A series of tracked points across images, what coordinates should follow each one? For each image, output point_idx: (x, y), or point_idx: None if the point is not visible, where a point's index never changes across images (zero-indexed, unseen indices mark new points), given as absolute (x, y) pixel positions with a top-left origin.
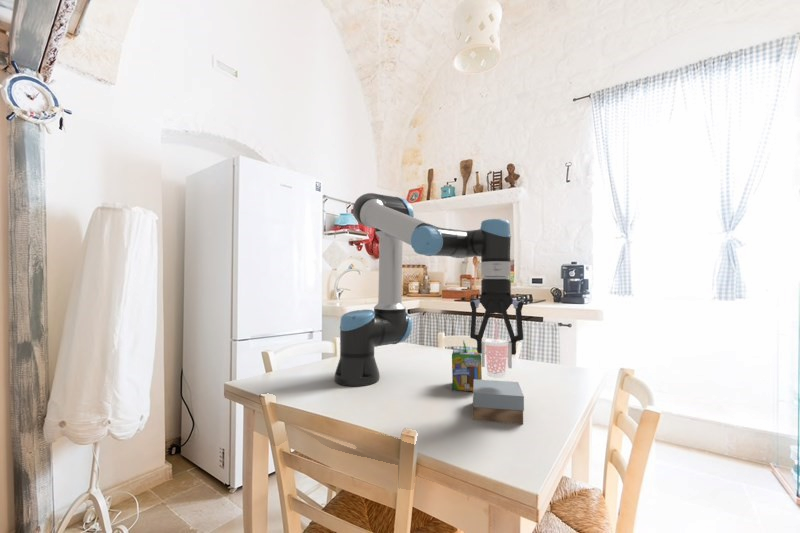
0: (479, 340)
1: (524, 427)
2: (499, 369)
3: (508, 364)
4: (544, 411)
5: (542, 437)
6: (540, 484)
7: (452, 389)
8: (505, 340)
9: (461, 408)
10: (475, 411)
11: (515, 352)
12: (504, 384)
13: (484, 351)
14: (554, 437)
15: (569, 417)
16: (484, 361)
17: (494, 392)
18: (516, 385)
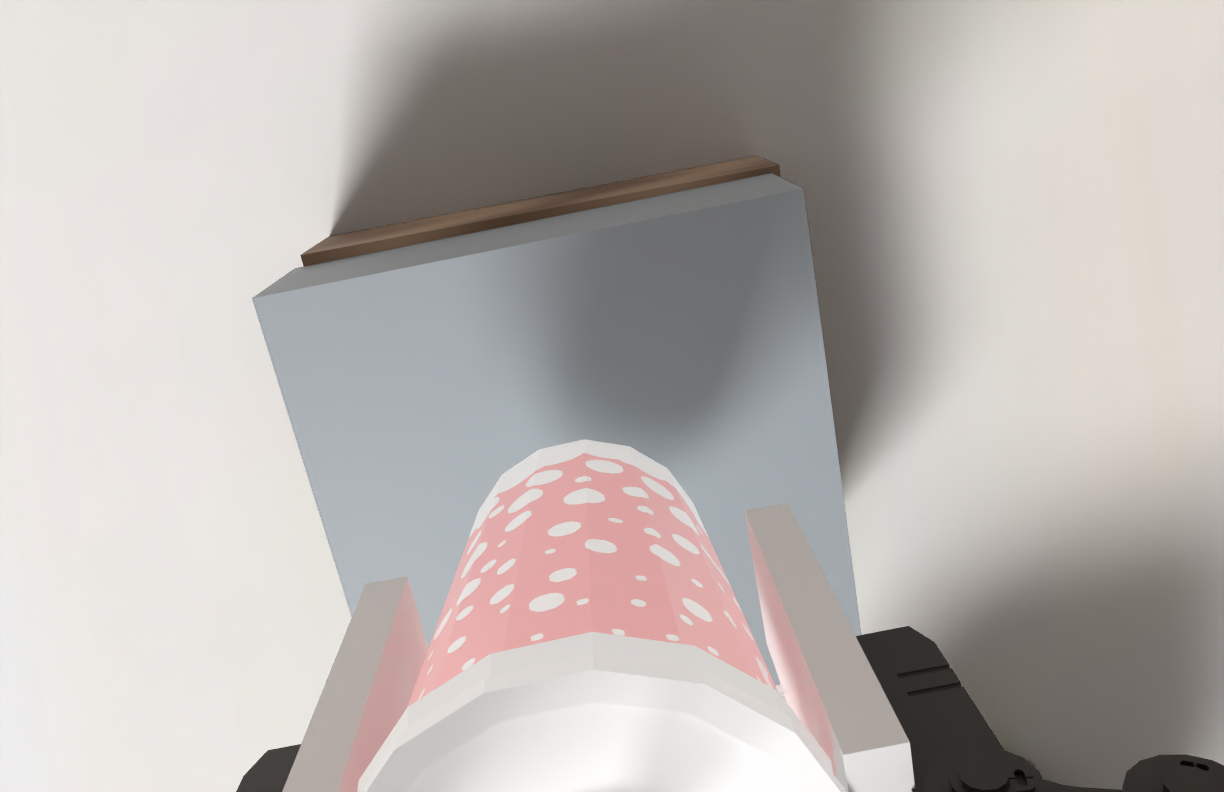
0: (969, 760)
1: (308, 169)
2: (525, 490)
3: (405, 621)
4: (209, 587)
5: (136, 13)
6: None
7: (1034, 766)
8: None
9: (890, 375)
10: (743, 165)
11: (250, 780)
12: None
13: (796, 632)
14: (46, 56)
15: (3, 538)
16: (762, 548)
17: (577, 299)
18: None
